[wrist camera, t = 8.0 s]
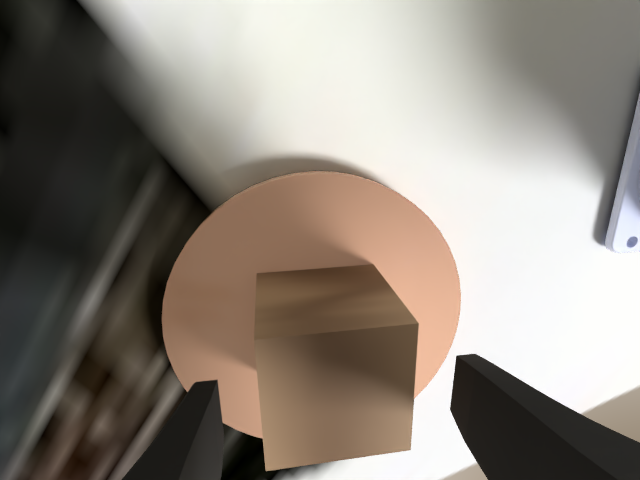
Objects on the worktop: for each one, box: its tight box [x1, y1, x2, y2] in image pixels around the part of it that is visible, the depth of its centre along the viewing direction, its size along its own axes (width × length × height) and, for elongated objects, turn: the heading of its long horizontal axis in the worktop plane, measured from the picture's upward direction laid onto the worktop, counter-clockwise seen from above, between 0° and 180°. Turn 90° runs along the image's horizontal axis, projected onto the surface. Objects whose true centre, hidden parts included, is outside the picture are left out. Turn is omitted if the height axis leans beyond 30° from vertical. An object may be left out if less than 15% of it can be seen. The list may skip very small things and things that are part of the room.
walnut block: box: [254, 264, 419, 471], centre depth 13 cm, size 4×4×4 cm
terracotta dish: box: [162, 171, 461, 438], centre depth 16 cm, size 12×12×1 cm
